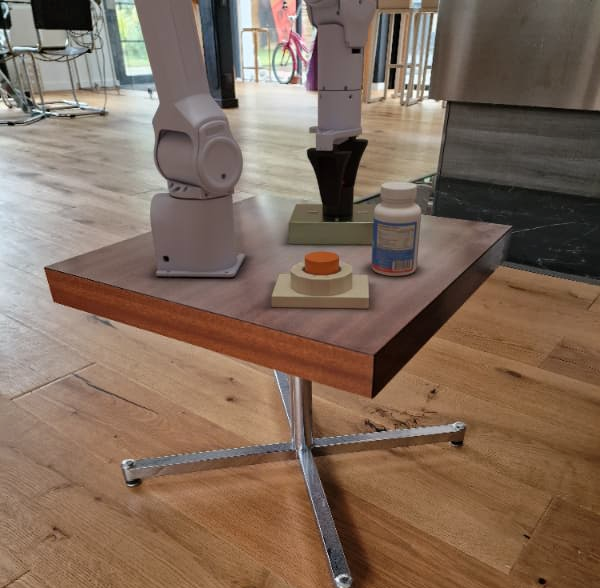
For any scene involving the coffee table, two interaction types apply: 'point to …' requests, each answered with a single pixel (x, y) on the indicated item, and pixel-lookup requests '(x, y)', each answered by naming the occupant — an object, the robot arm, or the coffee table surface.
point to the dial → (342, 202)
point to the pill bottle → (396, 230)
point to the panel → (331, 225)
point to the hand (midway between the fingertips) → (337, 199)
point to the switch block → (321, 289)
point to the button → (321, 263)
